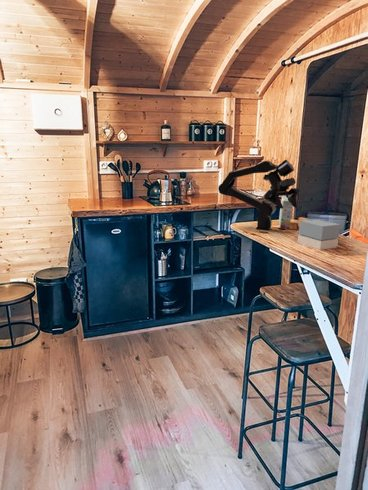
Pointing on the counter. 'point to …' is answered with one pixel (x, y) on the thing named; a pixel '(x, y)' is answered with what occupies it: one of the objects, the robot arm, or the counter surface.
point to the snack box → (285, 213)
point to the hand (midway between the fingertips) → (289, 207)
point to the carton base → (317, 242)
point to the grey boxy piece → (318, 228)
